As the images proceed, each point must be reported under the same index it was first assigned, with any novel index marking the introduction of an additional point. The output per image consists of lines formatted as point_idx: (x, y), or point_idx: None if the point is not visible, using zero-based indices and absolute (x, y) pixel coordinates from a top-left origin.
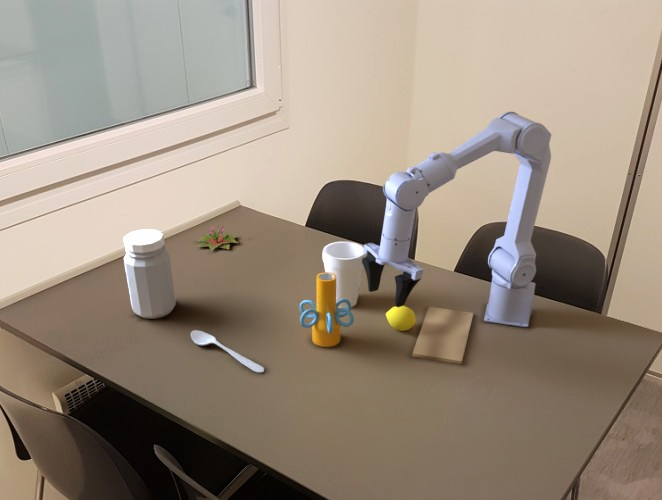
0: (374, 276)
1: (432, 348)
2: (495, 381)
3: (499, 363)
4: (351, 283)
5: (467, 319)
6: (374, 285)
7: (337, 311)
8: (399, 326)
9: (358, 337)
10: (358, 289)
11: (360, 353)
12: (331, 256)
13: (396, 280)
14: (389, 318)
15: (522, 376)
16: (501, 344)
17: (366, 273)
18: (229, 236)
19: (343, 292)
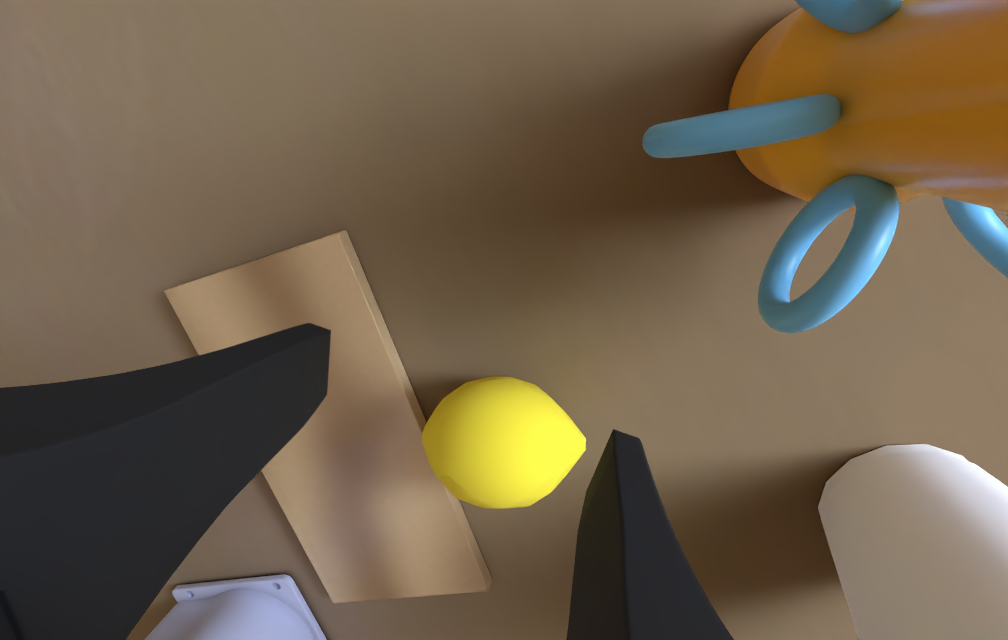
0: (598, 579)
1: (297, 316)
2: (38, 250)
3: (103, 362)
4: (904, 588)
5: (323, 559)
6: (597, 499)
7: (816, 97)
8: (479, 381)
9: (653, 238)
10: (841, 581)
11: (563, 101)
12: None
13: (5, 440)
14: (539, 404)
15: (13, 327)
16: None
17: (693, 583)
18: None
19: (925, 515)
